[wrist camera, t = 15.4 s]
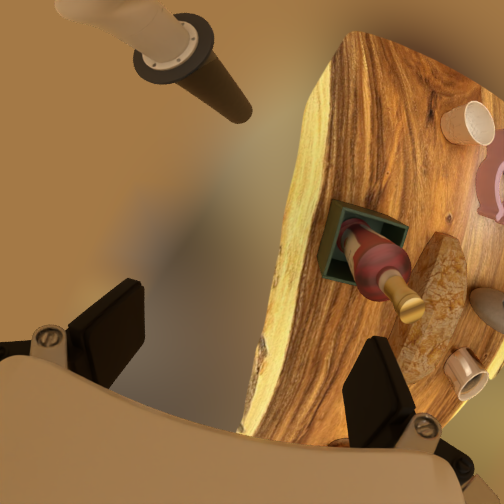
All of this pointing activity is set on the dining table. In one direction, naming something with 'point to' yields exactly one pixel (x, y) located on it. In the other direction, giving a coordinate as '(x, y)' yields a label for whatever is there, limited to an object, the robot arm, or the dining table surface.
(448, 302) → the bread
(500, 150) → the clip
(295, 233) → the dining table surface
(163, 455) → the robot arm
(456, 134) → the white cup
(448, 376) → the mug
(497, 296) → the planter
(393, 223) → the green square box
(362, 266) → the liquor
